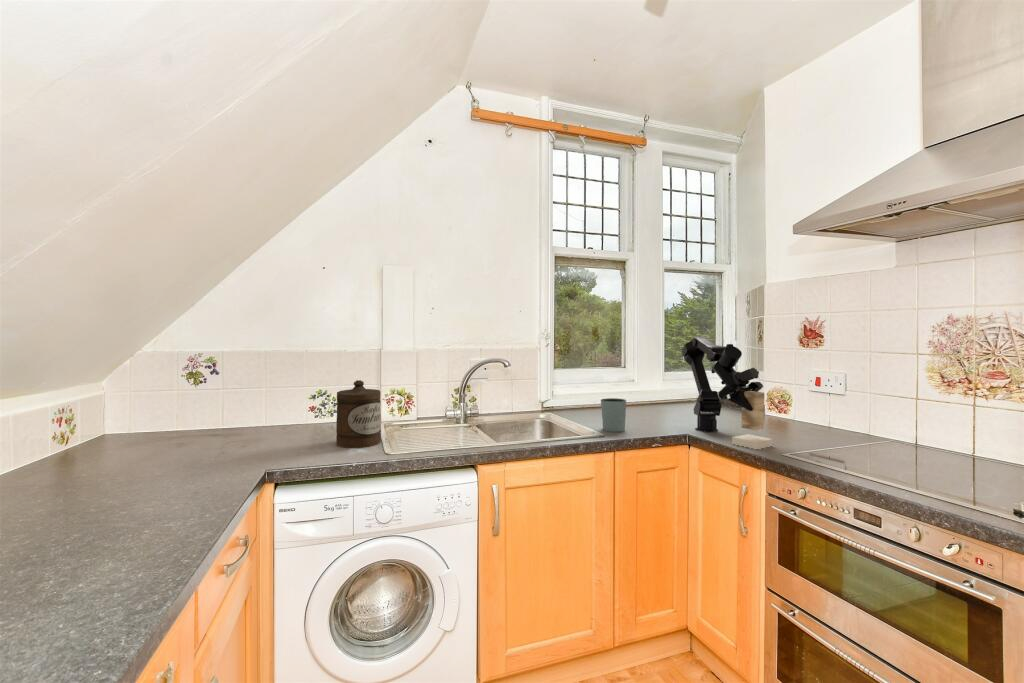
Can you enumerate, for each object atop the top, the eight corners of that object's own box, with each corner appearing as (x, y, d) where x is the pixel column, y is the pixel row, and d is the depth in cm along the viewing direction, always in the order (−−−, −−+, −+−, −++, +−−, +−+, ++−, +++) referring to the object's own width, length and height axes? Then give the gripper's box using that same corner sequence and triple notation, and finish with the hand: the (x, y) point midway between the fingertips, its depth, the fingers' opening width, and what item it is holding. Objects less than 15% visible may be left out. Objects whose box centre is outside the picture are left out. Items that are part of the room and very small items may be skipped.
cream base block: (732, 445, 167) (732, 437, 167) (747, 442, 171) (747, 434, 171) (757, 451, 159) (757, 442, 159) (772, 447, 164) (772, 439, 164)
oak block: (741, 427, 166) (742, 391, 166) (749, 426, 169) (750, 391, 168) (755, 430, 162) (755, 393, 161) (763, 428, 164) (764, 392, 164)
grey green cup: (624, 433, 184) (625, 402, 184) (598, 431, 188) (598, 400, 187) (627, 427, 194) (627, 398, 194) (602, 426, 197) (602, 397, 197)
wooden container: (355, 450, 157) (355, 383, 156) (327, 444, 165) (327, 380, 164) (389, 441, 169) (389, 379, 169) (362, 436, 177) (361, 377, 177)
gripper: (726, 361, 163) (756, 397, 154) (758, 359, 173) (788, 393, 164) (706, 381, 170) (733, 417, 161) (738, 379, 180) (766, 412, 171)
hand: (756, 409), depth 164 cm, fingers closed on oak block, 5 cm apart
